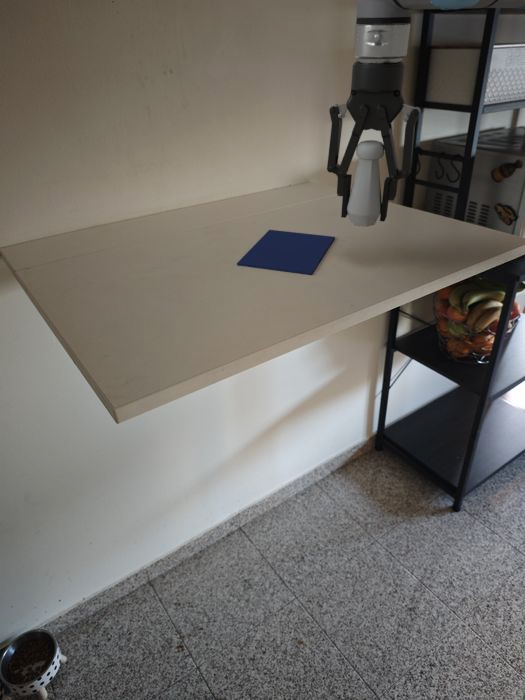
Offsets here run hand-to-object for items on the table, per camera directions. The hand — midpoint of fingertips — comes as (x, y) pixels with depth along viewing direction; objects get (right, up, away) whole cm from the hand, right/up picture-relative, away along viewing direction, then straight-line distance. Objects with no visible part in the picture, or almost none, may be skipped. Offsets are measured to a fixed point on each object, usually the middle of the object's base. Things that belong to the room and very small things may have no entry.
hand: (363, 216), depth 85 cm
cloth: (-12, -4, +10) cm, 17 cm away
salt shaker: (0, -1, 0) cm, 1 cm away
